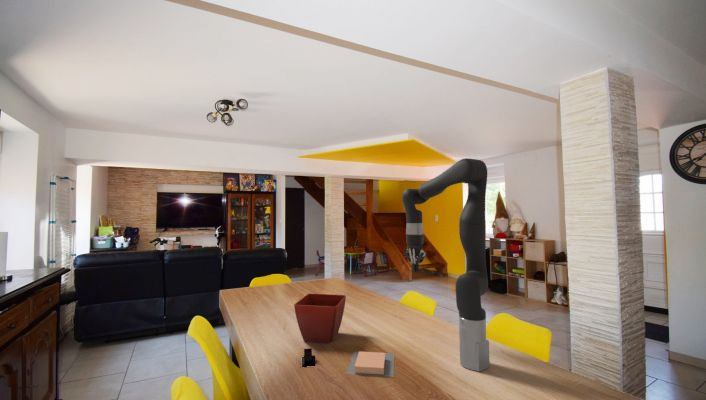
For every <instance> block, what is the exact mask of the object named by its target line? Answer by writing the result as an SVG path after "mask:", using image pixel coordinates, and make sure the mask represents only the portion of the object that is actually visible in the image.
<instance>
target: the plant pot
mask: <svg viewBox="0 0 706 400" xmlns="http://www.w3.org/2000/svg"><path fill="white" fill-rule="evenodd" d="M346 299H347V296H346V295H345V294H332V293H331V294H328V293H327V294H326V293H307V294H306V295H305V296H303V297H302V298H300V299H299V300H298V301H297V302H295V303H294V305H293V306H294V312H295V313H294V314H295V317H296V322H297V325H298V329H299V332H300V334H301V338H302V339H303V341H304V342H310V343H311V342H312V343H322V344H328V343H332V342H333V341H334V339H335V338H336V337H337V336H338V334H339V331H340V328H341V324H342V320H343V316H344V311H345V306H346Z"/></svg>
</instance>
